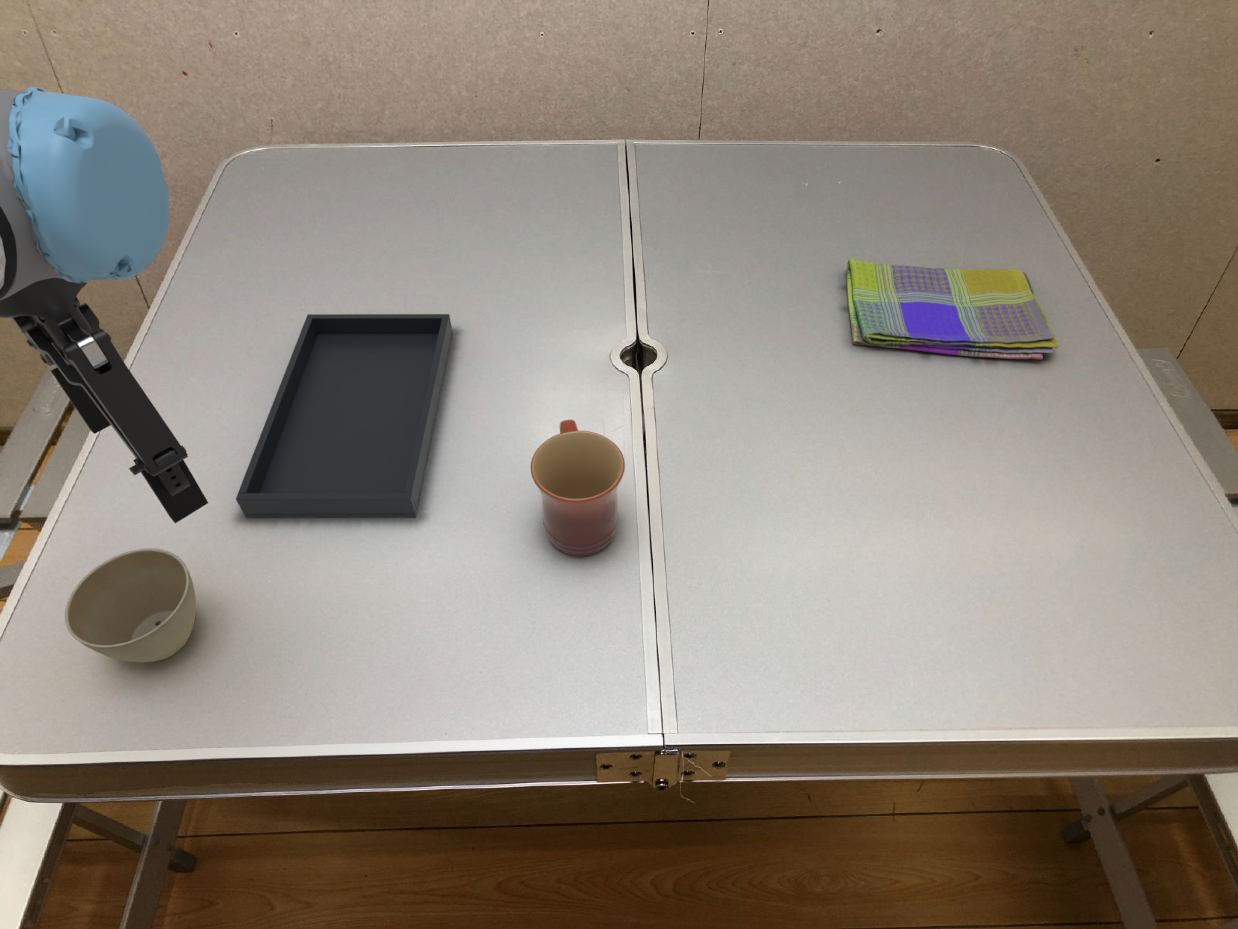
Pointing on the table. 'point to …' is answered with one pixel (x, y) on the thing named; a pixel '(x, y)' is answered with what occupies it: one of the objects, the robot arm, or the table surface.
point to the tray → (351, 419)
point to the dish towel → (947, 311)
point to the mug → (578, 488)
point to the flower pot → (134, 606)
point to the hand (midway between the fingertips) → (147, 465)
